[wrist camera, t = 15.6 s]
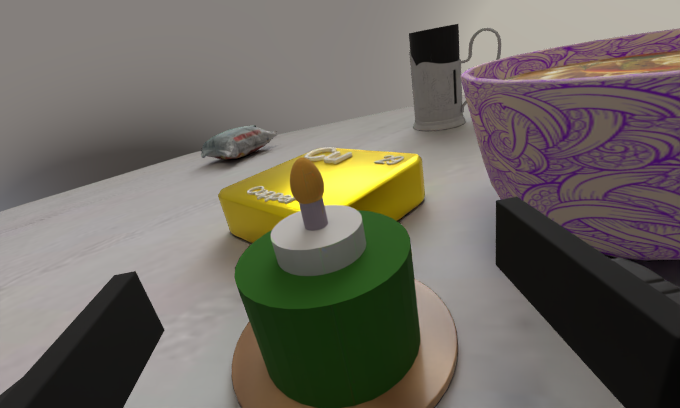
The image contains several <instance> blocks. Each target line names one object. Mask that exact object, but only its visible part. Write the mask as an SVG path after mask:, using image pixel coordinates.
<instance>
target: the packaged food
mask: <svg viewBox="0 0 680 408" xmlns="http://www.w3.org/2000/svg"><path fill="white" fill-rule="evenodd" d="M274 133H275V134H274ZM276 135H277V131H273V132H269V131H266V130H263V129H260V128H257V127H256V126H255V125H252V126H245V127H239V128H234V129H230V130H227V131H225V132H222V133H220V134H218V135H216V136H214V137H212V138H211V139H209V140H208V141H206V142H205V143H204V145H203V148H202V150H201V151H202V154H201V157H202V158H205V157H206V156H209V157H214V158H218V159H235V158H240V157H243V156H246V155H249V154H251V153H252V152H254V151H256V150H258V149H260V148H261V147H263V146H264V145H266V144H267V143H269V142H270V140H271V139H273V138H274V137H275V136H276Z"/></svg>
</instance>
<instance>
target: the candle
mask: <svg viewBox="0 0 680 408" xmlns="http://www.w3.org/2000/svg"><path fill="white" fill-rule="evenodd" d="M290 188H291V192H292V195H293V196H294V198H295V199H296V200H297V201H298V202H299V206H300V210H301V211H298V212H296V213H294V214H291V215H290V216H288V217H286V218H284V219H283V220H281V221H280V222H279V223H278V224H277V225H276V226H275V227H274V228H273V230H271V231H269V232H267V233H266V234H264V235H263V236H261V237H260V238H259V239H257V240H256V241H255V242H254V243H252V244H251V245H250V246H249V247H248V248H247V249H246V250H245V252H244V253H243V254H242V256H241V257H240V258H239V261H238V263H237V265H236V267H235V281H236V284H237V287H238V290H239V293H240V296H241V299H242V301H243V304H244V307H245V310H246V312H247V315H248V318H249V321H250V323H251V326H252V329H253V332H254V335H255V337H256V340H257V343H258V346H259V348H260V351H261V354H262V357H263V360H264V362H265V365H266V368H267V371H268V373H269V376H270V378H271V380H272V381H273V383H274V384H275V386H276V387H277V388H278V389H279V390H280V391H281V392H282V393H283V394H285V395H286V396H287V397H288V398H290V399H292V400H294V401H296V402H298V403H300V404H303V405H307V406H311V407H315V408H344V407H351V406H356V405H359V404H362V403H365V402H368V401H371V400H373V399H375V398H377V397H378V396H380V395H382V394H384V393H386V392H387V391H389V390H390V389H391V388H392V387H394V386H395V385H396V384H397V383H398V382H400V381H401V380H402V379H403V377H404V376H405V375H406V374H407V372H408V371H409V370H410V369H411V367H412V365H413V363H414V361H415V359H416V357H417V355H418V351H419V346H420V326H419V317H418V308H417V299H416V290H415V280H414V271H413V262H412V253H411V244H410V237H409V235H408V233H407V231H406V229H405V228H404V227H403V226H402V225H401V224H400V223H399V222H397V221H396V220H394V219H392V218H391V217H388V216H385V215H383V214H380V213H375V212H371V211H362V210H356V209H354V208H351V207H348V206H344V205H324V201H323V194H324V181H323V178H322V176H321V173H320V171H319V170H318V168H317V167H316V166H315V164H314V163H313V162H311V161H310V160H309V159H307V158H299V159H297V160H296V161H295V163H294V164H293V166H292V169H291V173H290Z"/></svg>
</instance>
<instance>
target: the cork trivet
mask: <svg viewBox="0 0 680 408" xmlns="http://www.w3.org/2000/svg"><path fill="white" fill-rule="evenodd" d="M414 280H415V290H416V299H417V308H418V317H419V326H420V346H419V351H418V355H417V357H416V359H415V361H414V363H413V365H412V367H411V369H410V370H409V371H408V372H407V374H406V375H405V376H404V377H403V379H402V380H401V381H400V382H398V383H397V384H396V385H395V386H394V387H392V388H391V389H390V390H389V391H387V392H386V393H384V394H382V395H380V396H378V397H377V398H375V399H373V400H371V401H368V402H365V403H362V404H359V405H356V406H351V407H344V408H434V407H435V406H436V404H437V403H438V402H439V400H440V399H441V397H442V396H443V394H444V393H445V391H446V390H447V388H448V386H449V384H450V381H451V379H452V377H453V374H454V371H455V367H456V363H457V354H458V342H457V331H456V327H455V324H454V320H453V318H452V316H451V314H450V311H449V310H448V308H447V307H446V305H445V304H444V302H443V301H442V300H441V299H440V297H439V296H438V295H437V294H436V293H435V292H434V291H432V290H431V289H430V288H429V287H427V286H426V285H424V284H423V283H421V282H420V281H418V280H416V279H414ZM232 382H233V387H234V391H235V394H236V397H237V399H238V402H239V404H240V406H241V408H315V407H311V406H307V405H303V404H300V403H298V402H296V401H294V400H292V399H290V398H288V397H287V396H286V395H285V394H283V393H282V392H281V391H280V390H279V389H278V388H277V387H276V386H275V384H274V383H273V381H272V380H271V378H270V376H269V373H268V371H267V368H266V365H265V362H264V360H263V357H262V354H261V351H260V348H259V346H258V343H257V340H256V337H255V335H254V332H253V329H252V326H251V323H250V321H249V322H248V324H247V326H246V327H245V329H244V330H243V332H242V334H241V336H240V338H239V340H238V342H237V345H236V348H235V351H234V355H233V361H232Z"/></svg>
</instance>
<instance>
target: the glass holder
mask: <svg viewBox="0 0 680 408" xmlns="http://www.w3.org/2000/svg"><path fill="white" fill-rule="evenodd" d="M486 30H487V31H492V32H493V33H495V34H496V36H497V38H498V54H497V59H496V60H499V59H500V54H501V39H500V36H499V34H498V32H497V31H495V30H494V29H491V28H484V29H481V30H479V31H477V32H476V33H475V34H474V35H473V37H472V38H471V41H470V43H469V56H468V59H467V60H464V61H461V60H460V59H459V34H458V33H459V30H458V24H455V25H450V26H445V27H439V28H434V29H429V30H424V31H419V32H414V33H410V34H409V39H410V65H411V76H412V87H413V99H414V111H415V123H414V126H413V128H414V129H416V130H421V131H435V130H444V129H449V128H454V127H457V126H460V125H462V124H464V123H465V118H464V117H463V112H464V106H465V105H466V104H467V101H465V102H464V103H463V105H462V87H461V77H460V76H461V63H465V62H467V61H469V60H470V58H471V55H472V44H473V41H474V39H475V37H476V36H477V34H479V33H480V32H482V31H486Z"/></svg>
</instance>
